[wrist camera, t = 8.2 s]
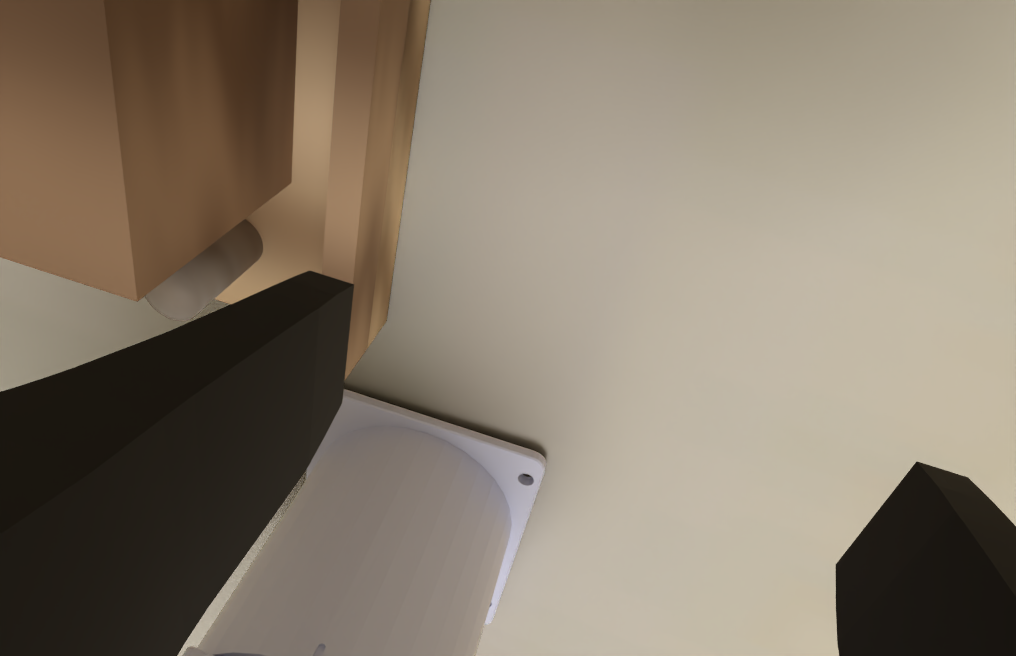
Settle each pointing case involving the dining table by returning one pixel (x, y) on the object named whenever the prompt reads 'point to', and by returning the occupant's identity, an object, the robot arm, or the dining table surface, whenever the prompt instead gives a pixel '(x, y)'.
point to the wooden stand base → (329, 170)
